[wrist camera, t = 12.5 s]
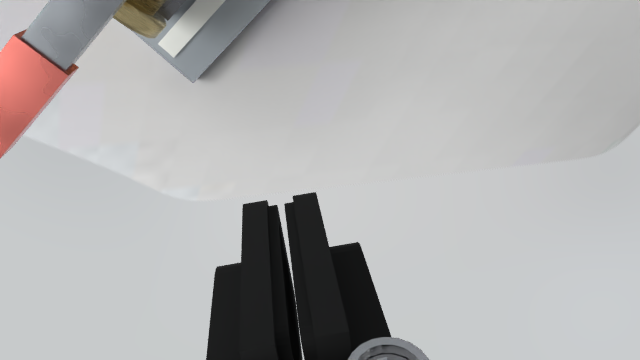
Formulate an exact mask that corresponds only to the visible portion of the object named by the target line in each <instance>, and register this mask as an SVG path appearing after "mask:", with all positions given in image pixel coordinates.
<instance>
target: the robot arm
mask: <svg viewBox="0 0 640 360" xmlns="http://www.w3.org/2000/svg"><path fill="white" fill-rule="evenodd" d="M293 201H294V202H292V203H286V204H285V213H286V221H287V230H288V238H289V246H290V254H291V262H292V271H293V280H294V288H295V295H294V290H293V284H292V278H291V273H290V268H289V263H288V258H287V253H286V247H285V243H284V237H283V232H282V227H281V222H280V217H279V211H278V207H277V205H274V206H268V202H267V200H266V201H260V202H254V203H248V204H243V216H242V255H241V256H242V257H241V263H236V264H230V265H224V266H219V267H217V268H216V272H215V278H214V289H213V298H212V308H211V318H210V328H209V338H208V348H207V358H206V360H302V351H301V343H302V348H303V353H304V359H305V360H429V359H428V358H427V356H426V355H425V354H424V353H423V352H422V350H421V349H419V348H418V347H416V346H415V345H413V344H412V343H410V342H408V341H405V340H402V339H399V338H392V337H391V335H390V332H389V329H388V326H387V323H386V320H385V317H384V314H383V311H382V308H381V305H380V302H379V299H378V296H377V293H376V290H375V287H374V284H373V282H372V279H371V275H370V272H369V269H368V266H367V264H366V261H365V258H364V255H363V252H362V249H361V246H360V244H359V243H358V242H356V243H351V244H345V245H339V246H333V247H329V245H328V241H327V237H326V232H325V228H324V224H323V220H322V216H321V212H320V208H319V204H318V199H317V195H316V193H308V194H302V195H296V196H293ZM295 297H296V301H295ZM296 305H297V309H296ZM297 313H298V318H297ZM298 322H299V327H298ZM299 328H300V334H299ZM300 336H301V343H300Z"/></svg>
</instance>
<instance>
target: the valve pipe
mask: <svg viewBox="0 0 640 360" xmlns="http://www.w3.org/2000/svg"><path fill="white" fill-rule="evenodd" d="M185 1H186V0H127V1H126V2H125V3H124V4H123V5H122V7H121V8H120V9H119V10H118V11H117V13H116V14H115V15H114V16H113V18H114V19H116V20H117V21H119V22H120V23H121V24H123V25H124V26H126V27H127V28H129V29H131V30H132V31H134V32H136V33H138V34H140V35H142V36H145V37H147V38H156V37H157V36H158V35H159V34H160V33H161V31H162V30H163V29H164V28H165V27H166V21H165V19H166V20H167V21H168V20H169V19H170V18H171V17H172V16H173V15H174V14H175V13H176V11H177V10H178V9H179V8H180V7H181V6H182V5H183V3H184V2H185ZM164 18H165V19H164Z"/></svg>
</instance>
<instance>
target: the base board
mask: <svg viewBox="0 0 640 360" xmlns="http://www.w3.org/2000/svg"><path fill="white" fill-rule="evenodd" d="M269 2H270V0H186V1H185V2H184V3H183V5H182V6H181V7H180V8H179V9H178V10H177V11H176V13H175V14H174V15H173V16H172V17H171V18H170V19H169V20H168V21H167V20H166V19H165V18H164V19H165V21H166V27H165V28H164V29H163V30H162V31H161V33H160V34H159V35H158V36H157V37H156V38H147V37H145V36H142V35H140V34H138V33H136V32H134V31H133V32H134V33H135V34H136V35H137V36H138V37H140V38H141V39H142V40H143V41H144V42H145V43H147V44H148V45H149V46H150V47H151V48H152V49H154V50H155V51H156V52H157V53H158V54H159V55H161V56H162V57H163V58H164V59H165V60H166V61H168V62H169V63H170V64H171V65H172V66H173V67H175V68H176V69H177V70H178V71H179V72H180V73H182V74H183V75H184V76H185V77H186V78H187V79H189V80H190V81H191V82H192V83H194V82H195V81H196V80H197V79H198V77H199V76H200V75H201V74H202V73H203V72H204V71H205V70H206V69H207V68H208V67H209V66H210V65H211V64H212V62H213V61H214V60H215V59H216V58H217V57H218V56H219V55H220V54H221V53H222V52H223V51H224V50H225V49H226V48H227V46H228V45H229V44H230V43H231V42H232V41H233V40H234V39H235V38H236V37H237V36H238V35H239V34H240V33H241V31H242V30H243V29H244V28H245V27H246V26H247V25H248V24H249V23H250V22H251V21H252V20H253V19H254V18H255V16H256V15H257V14H258V13H259V12H260V11H261V10H262V9H263V8H264V7H265V6H266V5H267V4H268V3H269ZM130 30H131V29H130ZM131 31H132V30H131Z"/></svg>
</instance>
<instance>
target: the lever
mask: <svg viewBox="0 0 640 360" xmlns="http://www.w3.org/2000/svg"><path fill="white" fill-rule="evenodd" d="M126 1H127V0H49V2H48V3H47V4H46V6H45V7H44V8H43V10H42V11H41V12H40V13H39V15H38V16H37V17H36V19H35V20H34V21H33V23H32V24H31V25H30V26H29V28H28V29H27V30H24V31H22V32H19V33H17V34H15V35H13V36H12V38H11V39H10V40H9V42H8V43H7V44H6V45H5V47H4V48H3V49H2V51H1V52H0V158H1V157H2V156H3V155H4V154H6V153H7V152H8V151H9V150H10V149H11V148H12V147H13V146H14V145H15V144H16V142H17V141H18V140H19V139H20V138H21V136H22V135H23V134H24V133H25V132H26V130H27V129H28V128H29V127H30V126H31V124H32V123H33V122H34V121H35V120H36V118H37V117H38V116H39V115H40V114H41V112H42V111H43V110H44V109H45V108H46V106H47V105H48V104H49V103H50V102H51V100H52V99H53V98H54V97H55V96H56V94H57V93H58V92H59V91H60V89H61V88H62V87H63V86H64V85H65V83H66V82H67V81H68V80H69V79H70V77H71V76H72V75H73V74H74V73H75V71H76V70H77V69H78V68H79V67H78V66H76V65H75V64H74V63H75V62H76V61H77V60H78V59H79V57H80V56H81V55H82V54H83V53H84V51H85V50H86V49H87V48H88V47H89V45H90V44H91V43H92V42H93V40H94V39H95V38H96V37H97V36H98V34H99V33H100V32H101V31H102V30H103V28H104V27H105V26H106V25H107V24H108V22H109V21H110V20H111V19H112V17H113V16H114V15H115V14H116V13H117V11H118V10H119V9H120V8H121V7H122V5H123V4H124V3H125V2H126Z"/></svg>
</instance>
